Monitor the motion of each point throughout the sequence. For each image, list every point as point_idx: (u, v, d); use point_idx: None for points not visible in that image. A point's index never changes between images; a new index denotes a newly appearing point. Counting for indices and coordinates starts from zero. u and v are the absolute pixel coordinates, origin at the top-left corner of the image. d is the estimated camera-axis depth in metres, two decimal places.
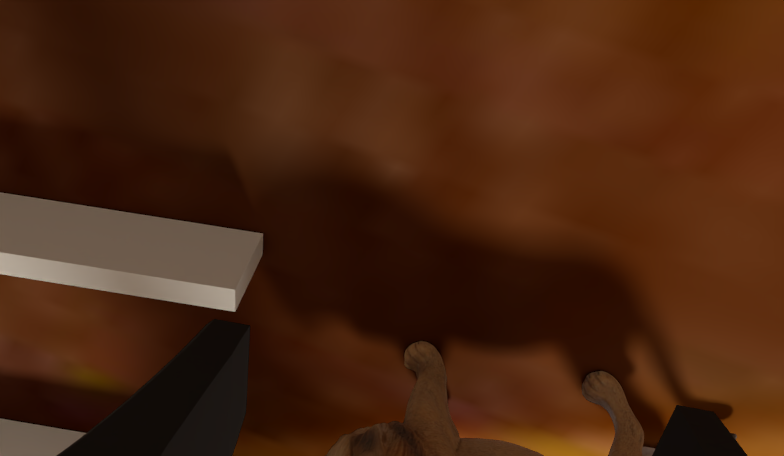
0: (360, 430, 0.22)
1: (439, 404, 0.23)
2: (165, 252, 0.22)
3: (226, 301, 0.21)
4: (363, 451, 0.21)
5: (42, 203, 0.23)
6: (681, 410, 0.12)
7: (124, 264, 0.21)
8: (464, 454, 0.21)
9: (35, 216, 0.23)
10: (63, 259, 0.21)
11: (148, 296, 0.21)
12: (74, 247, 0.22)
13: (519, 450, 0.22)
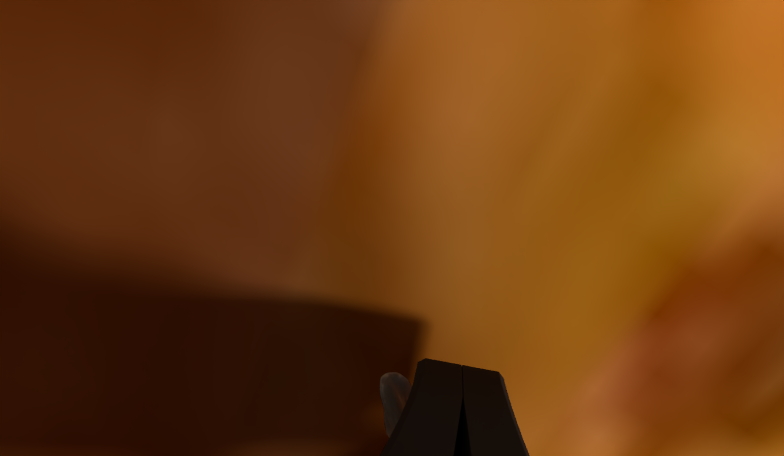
0: None
1: None
2: None
3: None
4: None
5: None
6: (463, 369, 0.12)
7: None
8: None
9: None
10: None
11: None
12: None
13: None
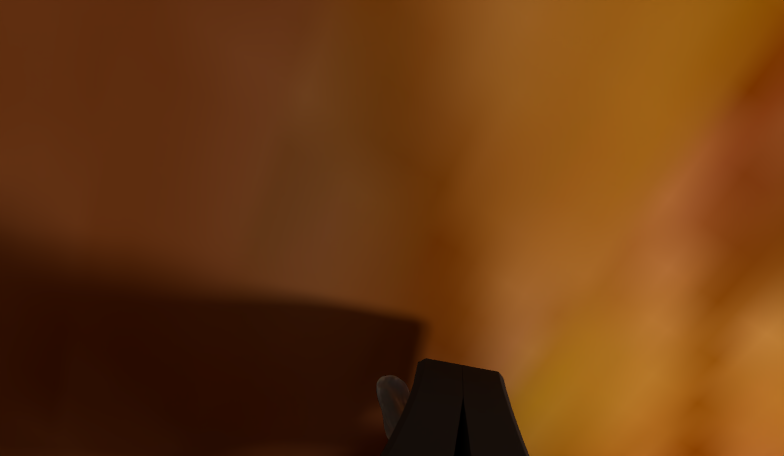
0: None
1: None
2: None
3: None
4: None
5: None
6: (462, 369, 0.12)
7: None
8: None
9: None
10: None
11: None
12: None
13: None
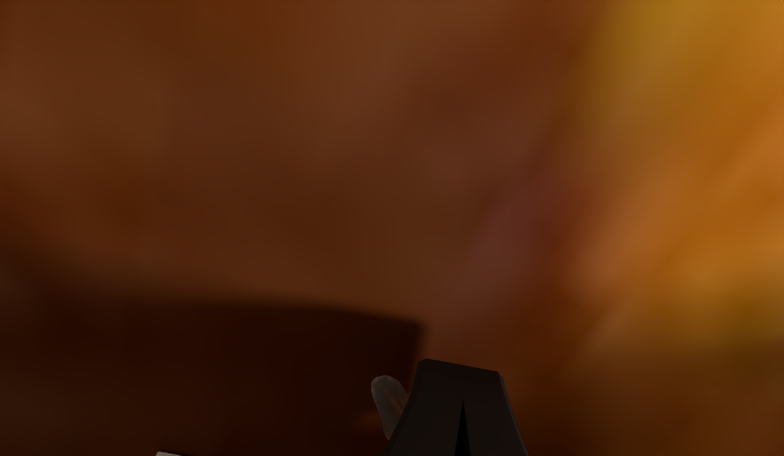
0: None
1: None
2: None
3: None
4: None
5: None
6: (462, 369, 0.12)
7: None
8: None
9: None
10: None
11: None
12: None
13: None
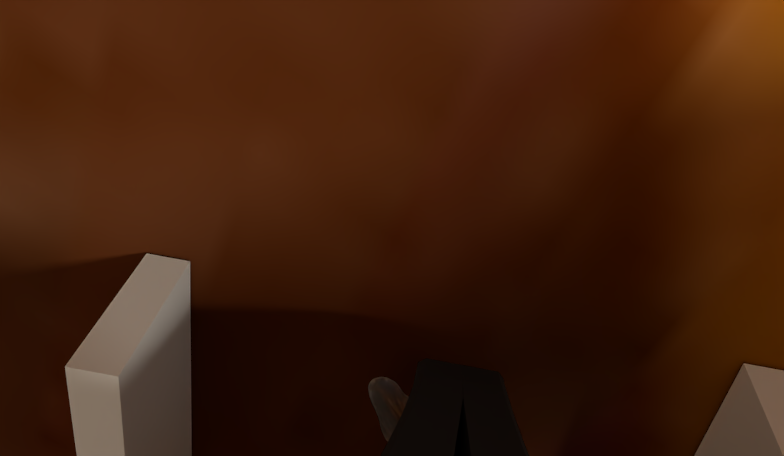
0: None
1: None
2: None
3: (96, 385, 0.11)
4: None
5: None
6: (462, 369, 0.12)
7: None
8: None
9: None
10: None
11: None
12: None
13: None
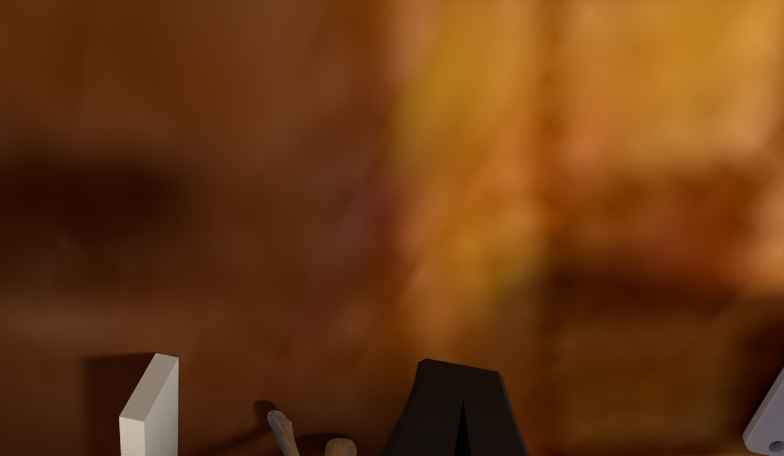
0: None
1: None
2: None
3: (133, 425, 0.23)
4: None
5: None
6: (462, 369, 0.12)
7: None
8: None
9: None
10: None
11: None
12: None
13: None
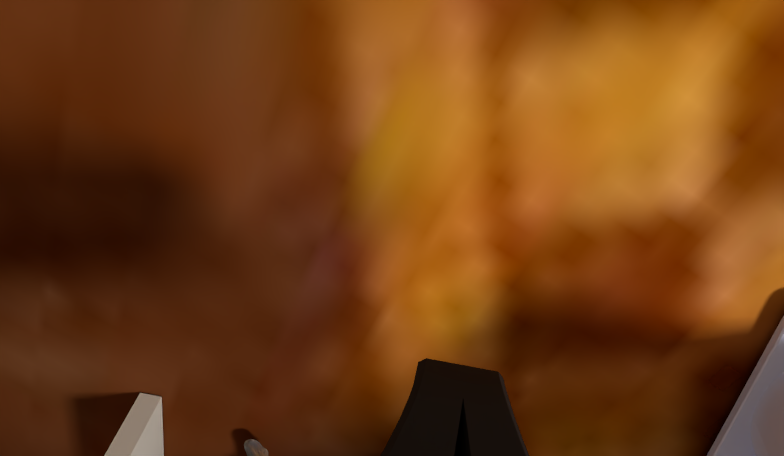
0: None
1: None
2: None
3: None
4: None
5: None
6: (462, 369, 0.12)
7: None
8: None
9: None
10: None
11: None
12: None
13: None
